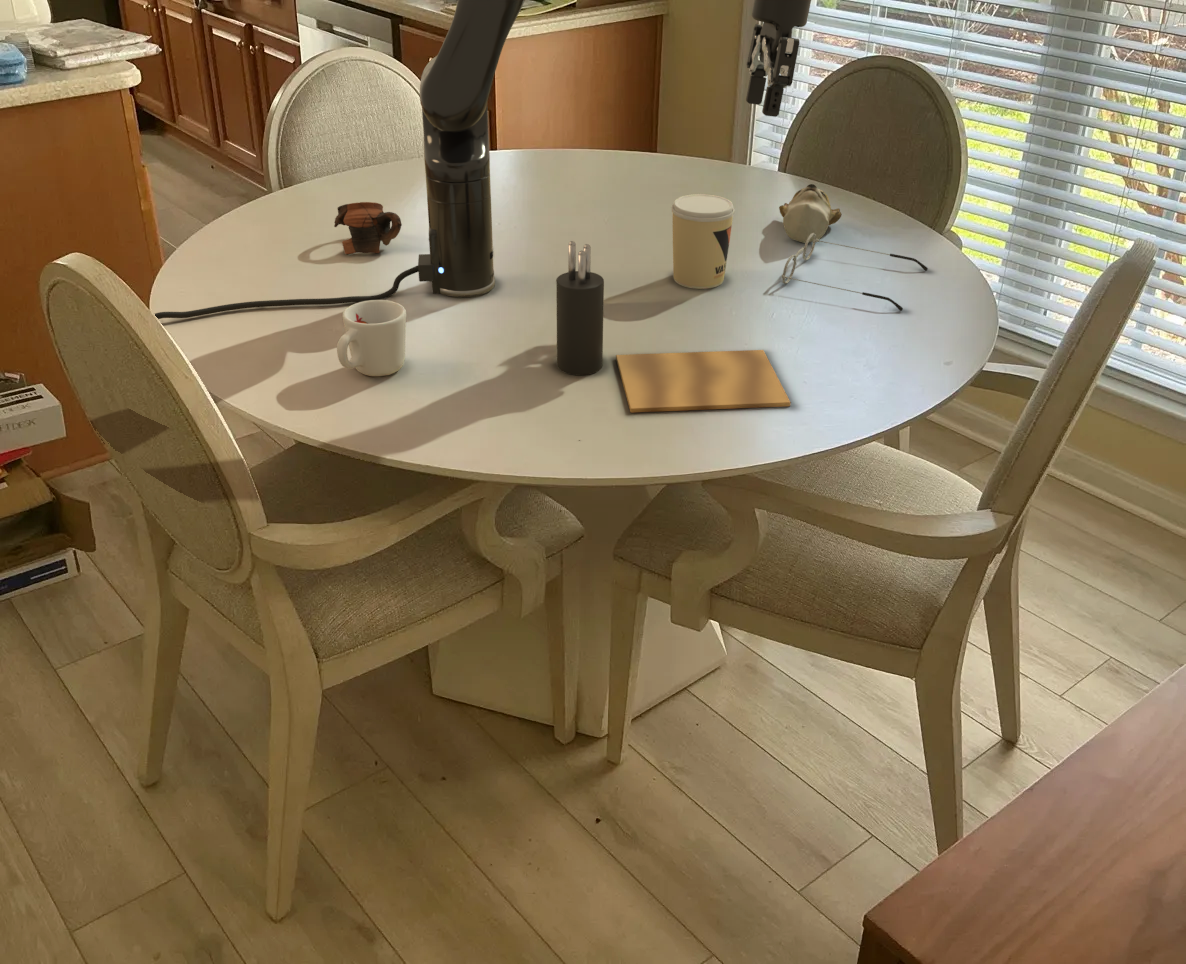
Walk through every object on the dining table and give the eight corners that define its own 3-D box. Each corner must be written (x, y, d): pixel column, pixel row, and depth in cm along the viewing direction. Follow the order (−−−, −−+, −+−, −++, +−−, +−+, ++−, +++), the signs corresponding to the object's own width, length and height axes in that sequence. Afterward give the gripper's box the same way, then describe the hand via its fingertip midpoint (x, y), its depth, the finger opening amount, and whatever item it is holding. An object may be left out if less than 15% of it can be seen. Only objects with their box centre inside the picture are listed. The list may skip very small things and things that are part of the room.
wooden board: (630, 412, 142) (630, 408, 141) (615, 358, 154) (616, 354, 154) (790, 406, 143) (790, 402, 143) (762, 353, 156) (763, 349, 156)
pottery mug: (325, 257, 185) (320, 205, 185) (356, 264, 194) (351, 214, 194) (392, 246, 181) (386, 193, 181) (420, 253, 190) (415, 203, 190)
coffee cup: (725, 293, 173) (731, 216, 167) (663, 288, 175) (667, 211, 169) (732, 270, 181) (738, 195, 175) (672, 265, 183) (676, 191, 176)
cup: (367, 396, 144) (361, 338, 140) (320, 380, 148) (313, 323, 144) (422, 364, 152) (418, 308, 148) (376, 349, 156) (371, 294, 151)
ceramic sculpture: (775, 191, 186) (785, 169, 199) (769, 243, 191) (779, 219, 203) (841, 198, 184) (847, 176, 197) (834, 251, 188) (840, 226, 201)
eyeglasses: (811, 250, 189) (814, 227, 187) (926, 273, 182) (931, 249, 180) (777, 289, 175) (780, 264, 173) (901, 315, 169) (906, 290, 166)
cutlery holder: (558, 376, 150) (558, 251, 141) (555, 355, 155) (554, 234, 146) (604, 374, 150) (607, 250, 141) (599, 354, 155) (601, 233, 146)
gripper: (745, -24, 160) (723, 97, 168) (774, -13, 148) (749, 116, 156) (796, -17, 162) (772, 103, 169) (829, -6, 150) (802, 122, 157)
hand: (761, 109), depth 162 cm, fingers open, 8 cm apart
